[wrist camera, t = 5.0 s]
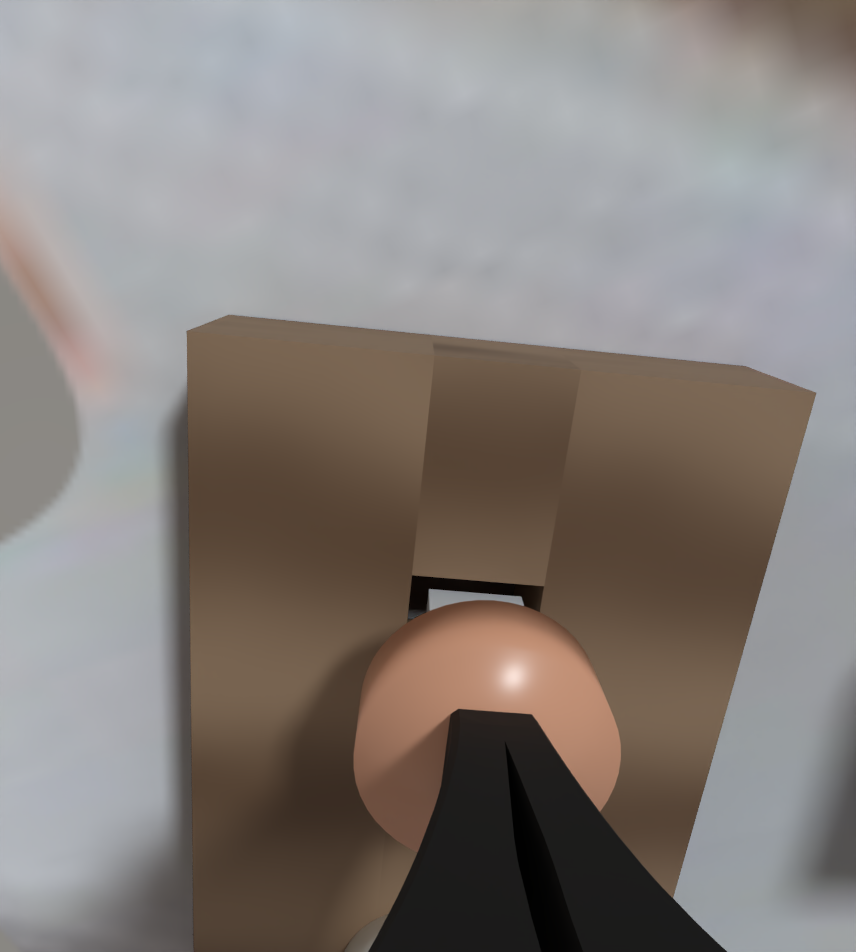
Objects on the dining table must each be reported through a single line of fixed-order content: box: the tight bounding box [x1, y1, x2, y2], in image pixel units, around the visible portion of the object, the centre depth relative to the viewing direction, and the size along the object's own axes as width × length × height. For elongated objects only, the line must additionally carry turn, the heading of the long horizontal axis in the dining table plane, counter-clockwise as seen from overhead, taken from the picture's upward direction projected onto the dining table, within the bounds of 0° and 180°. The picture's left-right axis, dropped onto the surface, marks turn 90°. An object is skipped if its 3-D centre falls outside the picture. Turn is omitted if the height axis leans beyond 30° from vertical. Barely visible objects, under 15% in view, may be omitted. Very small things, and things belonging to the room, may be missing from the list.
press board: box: [187, 315, 816, 952], centre depth 18 cm, size 22×12×3 cm, turn 174°
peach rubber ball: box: [354, 589, 621, 852], centre depth 13 cm, size 4×4×4 cm
